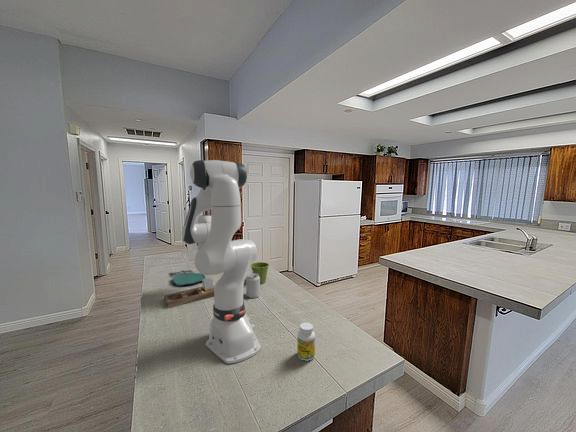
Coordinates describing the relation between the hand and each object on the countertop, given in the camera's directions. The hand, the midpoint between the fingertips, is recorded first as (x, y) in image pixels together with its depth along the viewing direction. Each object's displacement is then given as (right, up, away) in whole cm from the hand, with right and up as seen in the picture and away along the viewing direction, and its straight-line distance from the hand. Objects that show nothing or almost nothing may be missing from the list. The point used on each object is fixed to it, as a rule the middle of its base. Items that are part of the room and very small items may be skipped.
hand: (207, 268), depth 136 cm
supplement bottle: (+51, -21, -48) cm, 73 cm away
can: (+25, -15, 0) cm, 29 cm away
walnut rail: (-7, -15, -3) cm, 17 cm away
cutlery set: (-22, -12, +24) cm, 35 cm away
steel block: (-1, -14, +2) cm, 15 cm away
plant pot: (+27, -13, +20) cm, 36 cm away
